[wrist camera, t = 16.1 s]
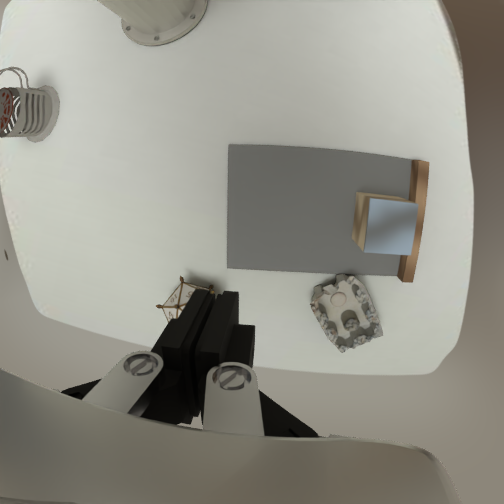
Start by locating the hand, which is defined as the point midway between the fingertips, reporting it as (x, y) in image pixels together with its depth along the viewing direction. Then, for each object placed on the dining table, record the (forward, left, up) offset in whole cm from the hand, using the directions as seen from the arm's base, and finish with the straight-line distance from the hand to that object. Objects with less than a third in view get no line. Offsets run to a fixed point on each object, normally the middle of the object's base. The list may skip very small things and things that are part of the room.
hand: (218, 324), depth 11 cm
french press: (-17, -36, -27) cm, 48 cm away
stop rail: (0, +20, -27) cm, 34 cm away
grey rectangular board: (0, +8, -27) cm, 28 cm away
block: (0, +15, -21) cm, 26 cm away
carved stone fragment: (+13, +12, -27) cm, 33 cm away
